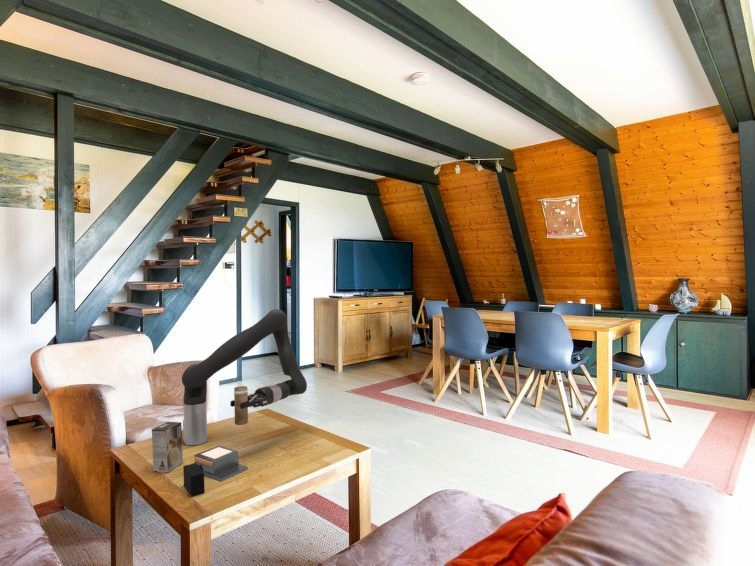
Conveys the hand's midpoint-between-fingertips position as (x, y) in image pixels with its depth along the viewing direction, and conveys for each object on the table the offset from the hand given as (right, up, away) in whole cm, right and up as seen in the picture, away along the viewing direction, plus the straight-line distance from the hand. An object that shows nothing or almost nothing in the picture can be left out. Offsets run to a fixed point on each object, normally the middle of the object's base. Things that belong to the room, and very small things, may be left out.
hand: (235, 405), depth 182 cm
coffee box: (-24, -22, -5) cm, 33 cm away
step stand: (-5, -22, -7) cm, 24 cm away
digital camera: (-7, -23, -23) cm, 33 cm away
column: (+1, -8, +2) cm, 8 cm away
